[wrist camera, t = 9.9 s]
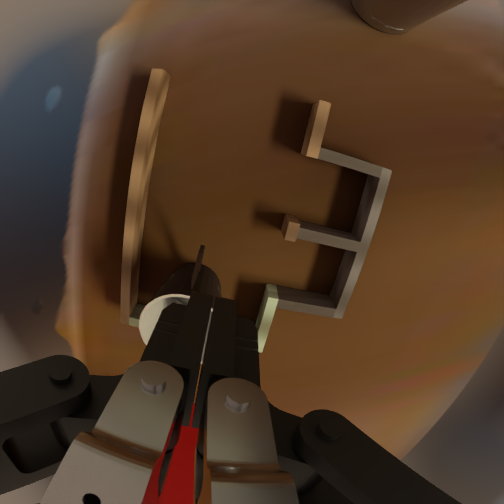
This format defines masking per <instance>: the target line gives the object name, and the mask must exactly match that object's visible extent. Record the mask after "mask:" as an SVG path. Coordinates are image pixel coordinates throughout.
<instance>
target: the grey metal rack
mask: <svg viewBox="0 0 504 504" xmlns="http://www.w3.org/2000/svg"><path fill="white" fill-rule="evenodd" d="M170 79H171V75H169V74H168V73H167V72H166V71H164V70H163V69H152V71H151V75H150V79H149V83H148V87H147V91H146V95H145V100H144V104H143V109H142V113H141V118H140V123H139V128H138V134H137V139H136V145H135V150H134V156H133V163H132V169H131V176H130V183H129V191H128V199H127V208H126V217H125V228H124V240H123V254H122V273H121V323H124V324H128V325H132V326H136V327H139V319H140V315H141V313H142V311H143V309H144V308H145V306H146V305H142V304H138V285H139V270H140V258H141V247H142V237H143V228H144V219H145V211H146V204H147V196H148V189H149V183H150V176H151V170H152V164H153V158H154V152H155V147H156V142H157V137H158V131H159V127H160V122H161V117H162V112H163V108H164V103H165V99H166V95H167V91H168V87H169V83H170ZM330 106H331V103H328V102H325V101H322V100H319V101H317V102H315V103H313V105H312V109H311V113H310V117H309V121H308V125H307V129H306V134H305V138H304V142H303V146H302V150H301V155H305V156H309V157H313V158H316V159H320V160H323V161H327V162H330V163H334V164H337V165H340V166H344V167H347V168H350V169H354V170H357V171H360V172H363V173H366V174H368V176H367V180H366V184H365V187H364V191H363V194H362V198H361V201H360V205H359V208H358V211H357V215H356V218H355V221H354V224H353V228H352V231H351V233H349V232H345V231H341V230H337V229H333V228H329V227H325V226H321V225H317V224H312V223H308V222H304V221H300V220H298V219H297V218H296V216H293V215H289V214H285V217H284V221H283V224H282V228H281V231H282V234H283V237H284V240H289V241H294V242H296V238H297V239H301V240H306V241H310V242H315V243H319V244H324V245H328V246H332V247H337V248H341V249H345V252H344V255H343V258H342V261H341V264H340V267H339V270H338V273H337V276H336V279H335V282H334V284H333V287H332V290H331V293H330V295H325V294H320V293H314V292H309V291H303V290H298V289H293V288H287V287H282V286H277V285H272V284H266V288H265V291H264V295H263V299H262V302H261V306H260V309H259V313H258V317H257V320H256V324H255V326H256V328H257V329H258V348H259V349H258V352H262V351H263V348H264V345H265V342H266V338H267V335H268V332H269V329H270V326H271V322H272V319H273V316H274V313H275V309H276V308H279V309H285V310H291V311H296V312H302V313H309V314H315V315H321V316H327V317H334V318H340V319H342V317H343V315H344V312H345V310H346V307H347V305H348V302H349V300H350V297H351V295H352V292H353V289H354V287H355V284H356V282H357V279H358V276H359V273H360V271H361V268H362V265H363V262H364V260H365V257H366V254H367V251H368V248H369V245H370V242H371V239H372V236H373V233H374V230H375V227H376V224H377V221H378V218H379V215H380V211H381V208H382V205H383V201H384V198H385V195H386V191H387V188H388V184H389V180H390V177H391V173H392V171H391V170H389V169H386V168H383V167H380V166H377V165H374V164H371V163H369V162H366V161H363V160H360V159H356V158H353V157H350V156H347V155H344V154H341V153H337V152H334V151H331V150H327V149H324V148H321V144H322V140H323V135H324V131H325V127H326V123H327V119H328V115H329V110H330Z"/></svg>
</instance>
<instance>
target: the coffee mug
mask: <svg viewBox="0 0 504 504" xmlns="http://www.w3.org/2000/svg"><path fill="white" fill-rule="evenodd" d="M204 249H205V246H203V245H201V247H200V250H199V253H198V257H197V260H196V263H189V264H185V265H183V266H181V267H179V268H178V269H177V270H176V271H175V272H174V273H173V274H172V275H171V276H170V278H169V279H168V280H167V281H166V282H165V284H164V285H163V286H162V287H161V288H160V290H159V291H158V292H157V293H156V294H155V295H154V297H153V298H152V299H151V300H150V301H149V303H148V304H147V305H146V306H145V308H144V309H143V311H142V313H141V315H140V319H139V330H140V334H141V336H142V339H143V341H144V342H145V344H146V345H147V343H148V341H149V339H150V337H151V334H152V332H153V330H154V327H155V325H156V323H157V321H158V318H159V316H160V314H161V312H162V310H163V309H164V308H165V307H167V306H168V305H170V304H171V303H173V302H174V303H178V304H182V305H187V304H188V301H189V298H190V295H191V292H192V291H194V292H198V293H203V294H207V295H212V296H214V297H213V302H212V307H211V312H210V317H209V322H208V327H207V332H206V337H205V343H204V348H203V353H202V358H201V364H202V362H203V357H204V351H205V346H206V341H207V336H208V331H209V326H210V321H211V316H212V311H213V306H214V302H215V297H216V296H217V297H221V287H220V282H219V279H218V277H217V275H216V274H215V273H214V272H213V271H212V270H211V269H210V268H208V267H207V266H205V265H202V264H201V263H202V258H203V254H204Z"/></svg>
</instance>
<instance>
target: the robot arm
mask: <svg viewBox="0 0 504 504" xmlns="http://www.w3.org/2000/svg"><path fill="white" fill-rule="evenodd" d="M465 1H467V0H351V3H352V5H353V7H354V9H355V11H356V12H357V13H358V14H359V16H360V17H361V18H362V19H363V20H364V21H365V22H366V23H368V24H369V25H371V26H372V27H374V28H376V29H377V30H379V31H382V32H385V33H389V34H402V33H406V32H408V31H409V30H411V29H413V28H415V27H416V26H418V25H420V24H422V23H424V22H426V21H428V20H430V19H432V18H433V17H435V16H437V15H439V14H441V13H443V12H445V11H447V10H449V9H451V8H453V7H455V6H457V5H459V4H461V3H463V2H465ZM213 297H214V296H212V295H207V294H203V293H198V292H194V291H192V292H191V295H190V298H189V301H188V304H187V305H182V304H178V303H174V302H173V303H171V304H170V305H168V306H167V307H165V308H164V309H163V310H162V312H161V314H160V316H159V318H158V321H157V323H156V325H155V327H154V330H153V332H152V334H151V337H150V339H149V341H148V343H147V346H146V348H145V350H144V353H143V355H142V357H141V360H140V362H138V363H135V364H133V365H132V366H130V367H129V368H128V369H127V370H126V372H125V373H124V374H122V375H118V376H98V375H89V372H88V369H87V368H86V366H85V365H84V364H83V363H82V362H81V361H79V360H78V359H76V358H74V357H71V356H66V355H54V356H50V357H47V358H44V359H41V360H38V361H34V362H32V363H28V364H25V365H22V366H19V367H15V368H12V369H9V370H6V371H3V372H0V495H1V494H4V493H7V492H9V491H12V490H15V489H18V488H20V487H23V486H26V485H29V484H31V483H34V482H36V481H39V480H41V479H44V478H46V477H49V476H51V475H53V474H55V475H54V477H53V479H52V481H51V483H50V485H49V487H48V489H47V491H46V493H45V495H44V497H43V499H42V501H41V503H39V504H160V501H161V497H162V493H163V490H164V486H165V483H166V479H167V476H168V472H169V469H170V465H171V462H172V459H173V455H174V452H175V448H176V445H177V443H178V441H179V437H180V432H181V427H182V426H187V427H189V424H190V418H191V412H192V407H193V401H194V396H195V390H196V385H197V380H198V374H199V369H200V364H201V358H202V353H203V348H204V343H205V337H206V332H207V327H208V322H209V317H210V312H211V307H212V302H213ZM237 305H238V301H236V300H231V299H226V298H222V297H217V296H216V297H215V302H214V306H213V311H212V316H211V321H210V326H209V331H208V336H207V341H206V346H205V351H204V357H203V362H202V368H201V373H200V379H199V385H198V391H197V396H196V402H195V408H194V414H193V420H192V426H191V427H193V428H198V429H199V431H198V438H197V444H196V448H195V460H194V500H193V504H461V503H460V502H458V501H457V500H455V499H453V498H452V497H451V496H449V495H448V494H446V493H444V492H443V491H442V490H440V489H439V488H437V487H436V486H434V485H433V484H432V483H430V482H429V481H427V480H426V479H425V478H423V477H422V476H420V475H419V474H418V473H416V472H415V471H413V470H412V469H411V468H409V467H408V466H407V465H405V464H404V463H402V462H401V461H400V460H398V459H397V458H396V457H394V456H393V455H392V454H391V453H389V452H388V451H387V450H385V449H384V448H383V447H381V446H380V445H379V444H377V443H376V442H375V441H374V440H372V439H371V438H370V437H369V436H367V435H366V434H365V433H364V432H362V431H361V430H360V429H359V428H357V427H356V426H355V425H354V424H352V423H351V422H350V421H349V420H347V419H346V418H345V417H343V416H342V415H340V414H338V413H336V412H334V411H330V410H314V411H311V412H309V413H307V414H306V415H305V416H304V417H303V418H301V417H298V416H295V415H292V414H289V413H287V412H284V411H282V410H279V409H278V408H276V407H274V406H273V405H272V404H270V403H269V402H268V400H267V397H266V395H265V393H264V392H263V391H262V390H261V387H260V370H259V352H258V349H259V348H258V329H257V328H256V326H255V325H254V323H253V321H252V320H251V319H249V318H244V317H239V316H237Z"/></svg>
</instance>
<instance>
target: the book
mask: <svg viewBox="0 0 504 504" xmlns="http://www.w3.org/2000/svg"><path fill="white" fill-rule="evenodd" d="M194 408H195V404H193V407H192V412H191V418H190V424H189V427H187V426H182V427H181V432H180V437H179V441H178V443H177V445H176V448H175V452H174V455H173V459H172V462H171V465H170V469H169V472H168V476H167V479H166V483H165V486H164V490H163V493H162V497H161V501H160V504H193V500H194V460H195V448H196V444H197V438H198V431H199V429H198V428H193V427H191V426H192V420H193V414H194Z"/></svg>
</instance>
